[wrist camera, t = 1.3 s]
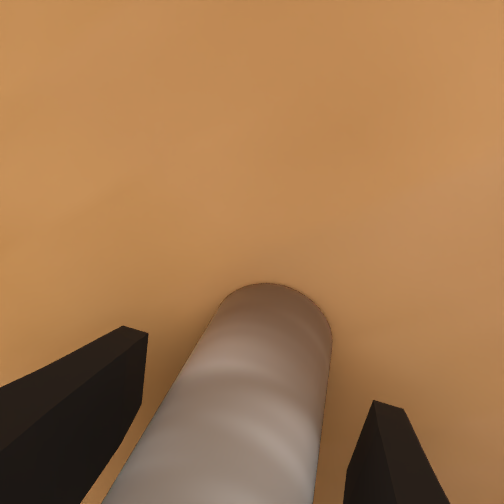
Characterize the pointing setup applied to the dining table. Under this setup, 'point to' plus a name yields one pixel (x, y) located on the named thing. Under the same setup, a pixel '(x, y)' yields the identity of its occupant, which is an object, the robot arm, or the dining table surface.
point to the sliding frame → (239, 409)
